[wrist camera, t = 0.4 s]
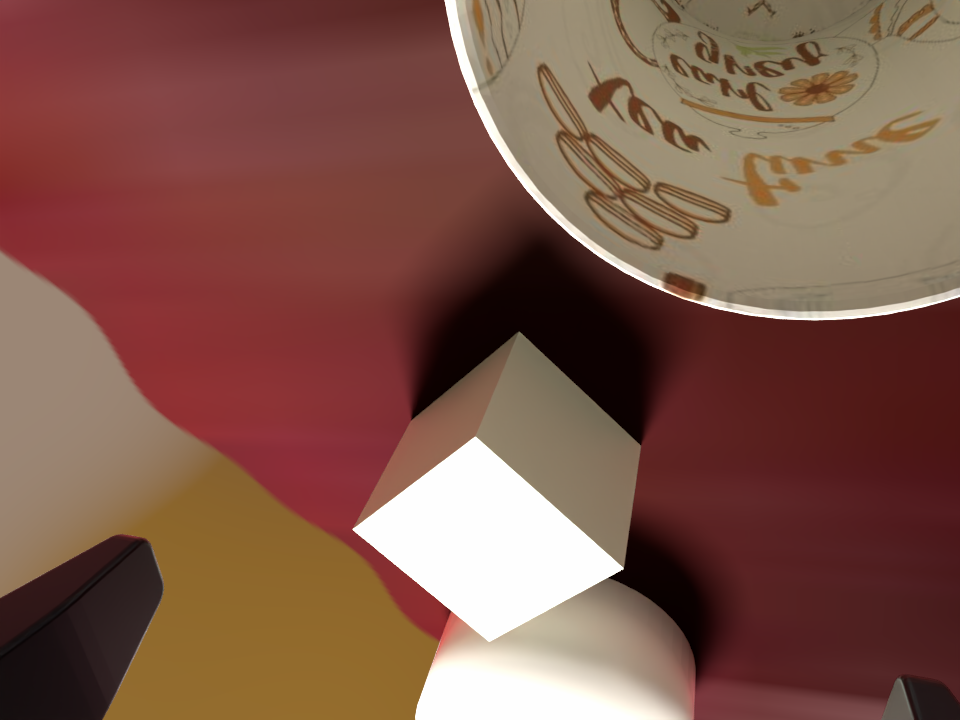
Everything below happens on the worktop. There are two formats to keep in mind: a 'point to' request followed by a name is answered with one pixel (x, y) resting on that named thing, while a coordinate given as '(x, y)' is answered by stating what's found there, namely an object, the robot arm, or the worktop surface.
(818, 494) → the worktop surface
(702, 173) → the mug
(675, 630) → the cream tin
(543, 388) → the white cube
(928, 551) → the worktop surface
